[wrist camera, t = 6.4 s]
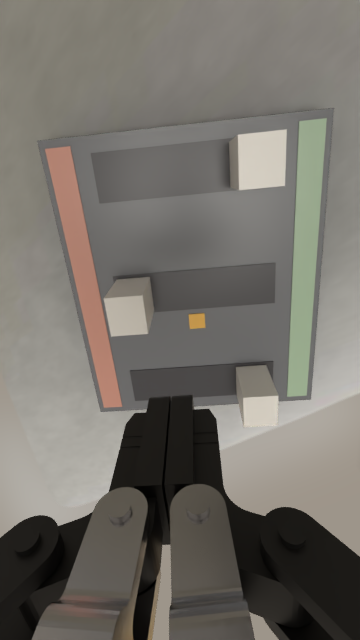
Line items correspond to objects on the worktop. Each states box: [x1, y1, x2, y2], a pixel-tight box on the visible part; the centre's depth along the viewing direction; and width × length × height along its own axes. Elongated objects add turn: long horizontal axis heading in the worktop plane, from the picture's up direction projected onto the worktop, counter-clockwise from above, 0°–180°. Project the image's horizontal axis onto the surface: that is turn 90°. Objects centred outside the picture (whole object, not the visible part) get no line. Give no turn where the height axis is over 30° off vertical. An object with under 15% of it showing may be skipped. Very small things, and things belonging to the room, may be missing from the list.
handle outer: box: [236, 365, 278, 427], centre depth 25 cm, size 3×2×4 cm
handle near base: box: [229, 129, 287, 190], centre depth 19 cm, size 3×2×4 cm
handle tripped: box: [104, 277, 154, 337], centre depth 22 cm, size 3×2×4 cm
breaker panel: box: [37, 108, 334, 412], centre depth 25 cm, size 21×18×3 cm
